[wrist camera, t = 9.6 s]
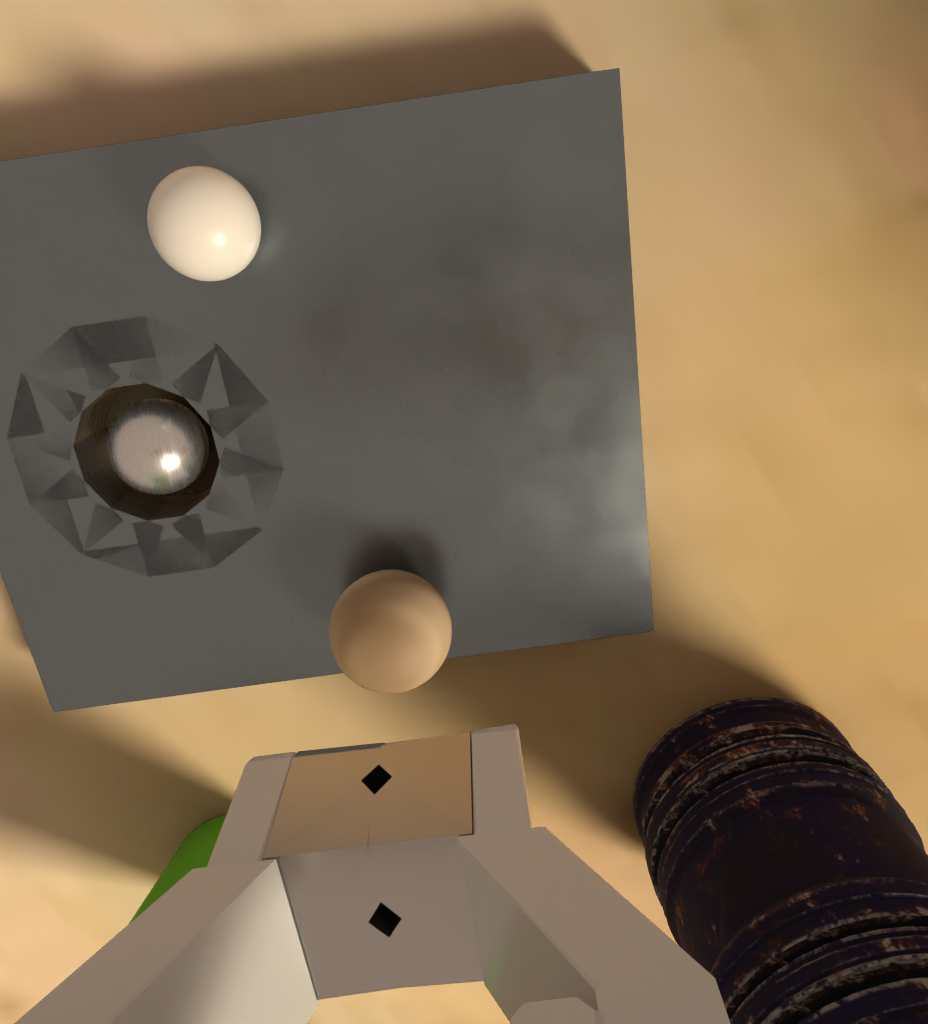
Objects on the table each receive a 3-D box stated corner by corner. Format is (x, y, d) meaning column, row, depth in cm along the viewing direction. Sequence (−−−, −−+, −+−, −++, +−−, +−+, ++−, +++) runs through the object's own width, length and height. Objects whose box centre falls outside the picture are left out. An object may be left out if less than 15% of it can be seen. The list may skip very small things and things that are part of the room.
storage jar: (819, 891, 36) (1058, 1314, 22) (609, 872, 36) (718, 1297, 22) (888, 706, 33) (1220, 1068, 19) (658, 682, 32) (825, 1040, 18)
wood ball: (442, 543, 27) (442, 595, 23) (458, 645, 28) (461, 709, 25) (326, 559, 27) (308, 613, 23) (348, 659, 29) (334, 726, 25)
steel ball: (201, 396, 25) (94, 418, 24) (225, 491, 26) (123, 516, 25) (190, 383, 28) (93, 402, 27) (212, 470, 29) (120, 491, 28)
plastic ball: (258, 161, 23) (232, 154, 20) (280, 269, 24) (259, 277, 21) (155, 176, 23) (115, 171, 20) (182, 284, 24) (148, 293, 21)
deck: (602, 82, 25) (619, 68, 22) (637, 599, 31) (653, 631, 28) (-91, 186, 25) (-146, 183, 23) (82, 675, 31) (53, 712, 29)
